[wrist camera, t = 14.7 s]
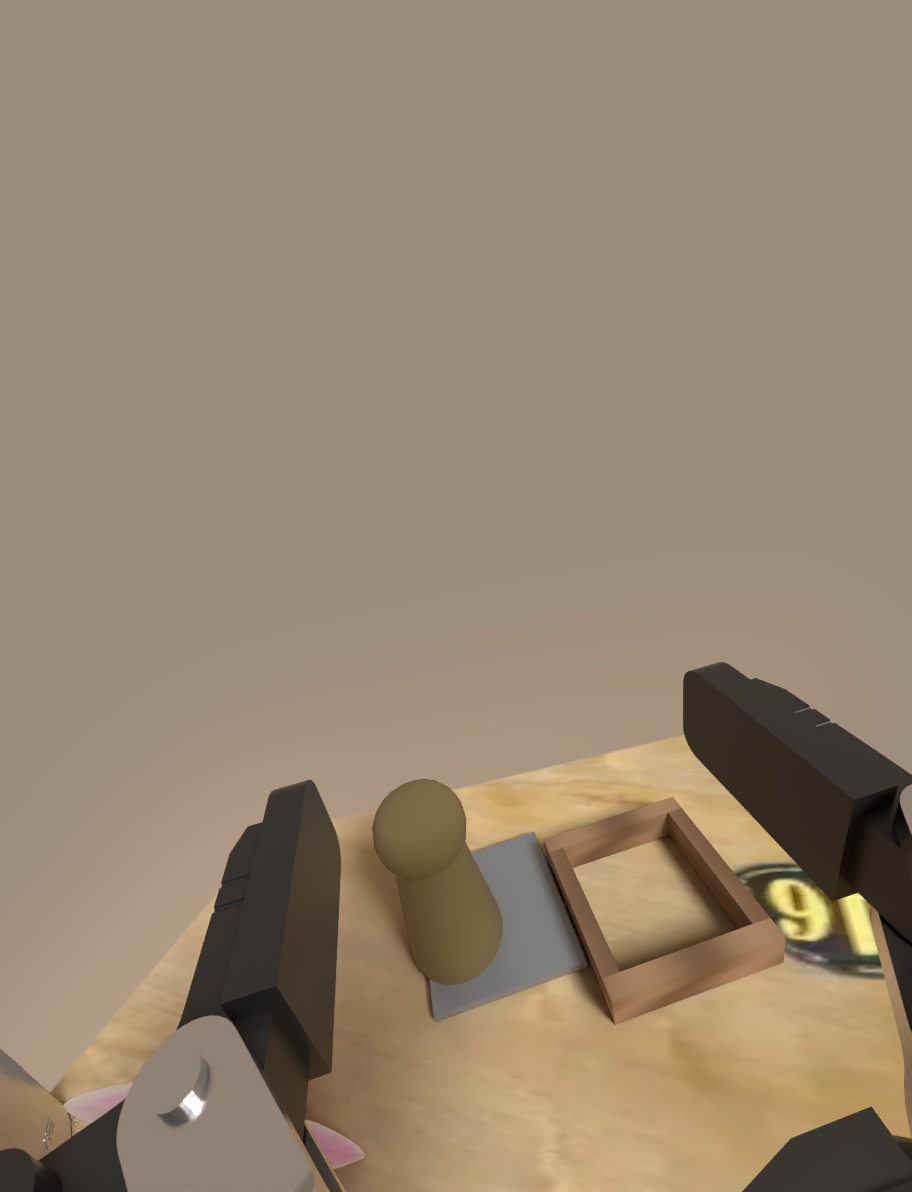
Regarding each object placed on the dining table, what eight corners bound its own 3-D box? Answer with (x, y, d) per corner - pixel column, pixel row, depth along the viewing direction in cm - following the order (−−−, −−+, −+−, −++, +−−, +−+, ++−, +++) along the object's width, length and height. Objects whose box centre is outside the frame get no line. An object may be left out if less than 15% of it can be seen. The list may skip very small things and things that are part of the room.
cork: (476, 1005, 26) (427, 872, 21) (391, 957, 29) (334, 833, 25) (518, 902, 30) (485, 775, 26) (440, 871, 33) (400, 753, 29)
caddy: (615, 1024, 24) (611, 1000, 23) (548, 861, 33) (543, 839, 32) (783, 962, 25) (785, 936, 24) (673, 819, 34) (672, 797, 33)
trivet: (435, 1021, 26) (433, 1016, 26) (418, 875, 34) (417, 870, 34) (587, 966, 27) (586, 961, 26) (535, 836, 35) (534, 831, 35)
